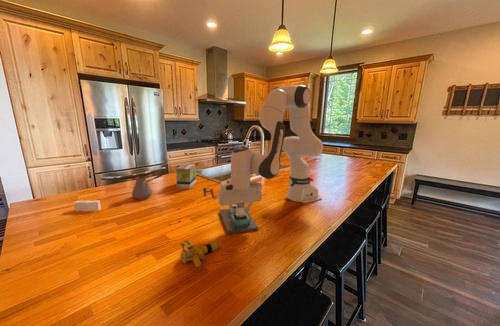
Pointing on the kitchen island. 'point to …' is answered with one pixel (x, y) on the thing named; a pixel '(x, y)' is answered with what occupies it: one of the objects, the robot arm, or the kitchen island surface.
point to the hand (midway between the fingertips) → (240, 211)
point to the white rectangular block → (87, 205)
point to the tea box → (186, 176)
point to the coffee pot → (143, 187)
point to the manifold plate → (237, 221)
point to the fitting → (240, 211)
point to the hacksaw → (209, 191)
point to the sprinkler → (197, 252)
